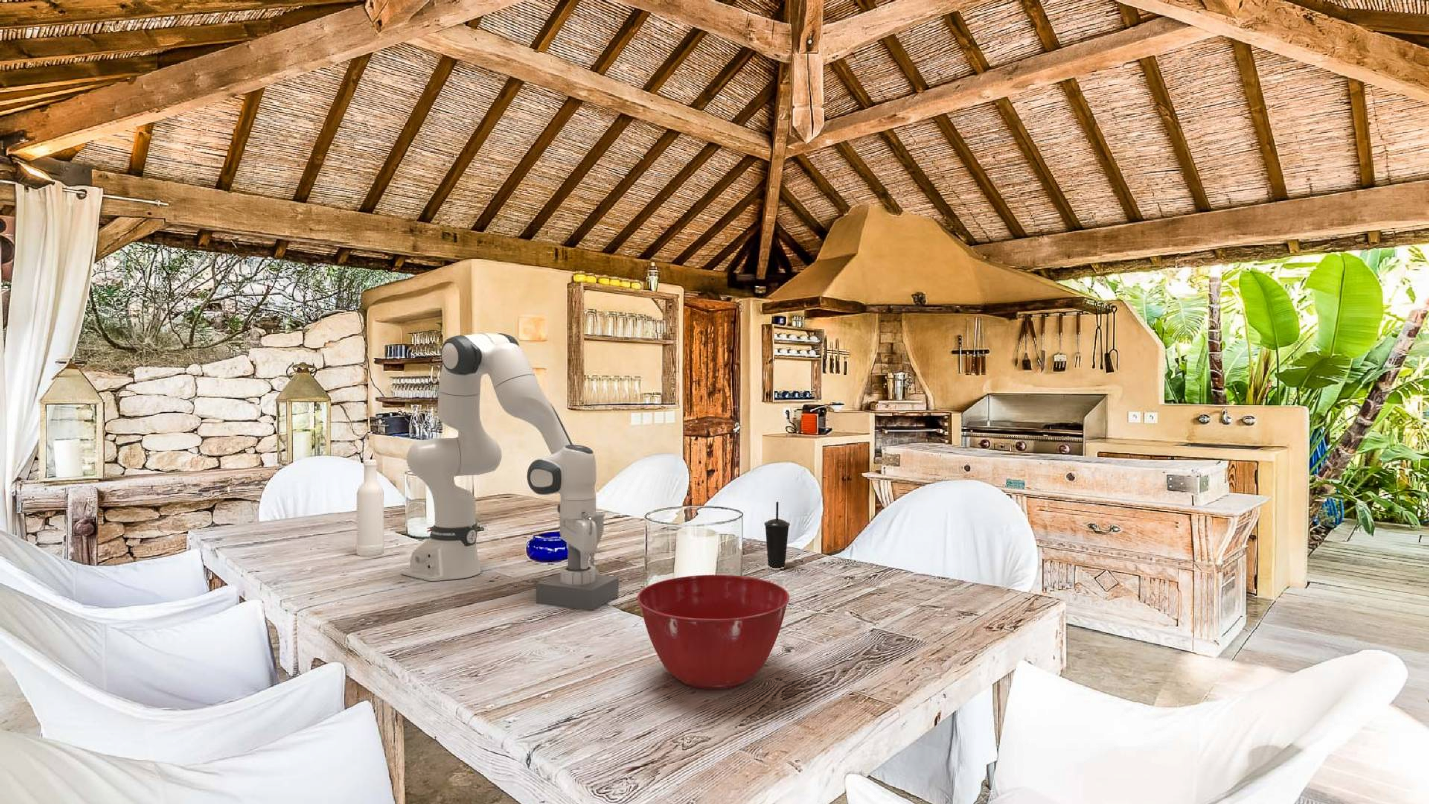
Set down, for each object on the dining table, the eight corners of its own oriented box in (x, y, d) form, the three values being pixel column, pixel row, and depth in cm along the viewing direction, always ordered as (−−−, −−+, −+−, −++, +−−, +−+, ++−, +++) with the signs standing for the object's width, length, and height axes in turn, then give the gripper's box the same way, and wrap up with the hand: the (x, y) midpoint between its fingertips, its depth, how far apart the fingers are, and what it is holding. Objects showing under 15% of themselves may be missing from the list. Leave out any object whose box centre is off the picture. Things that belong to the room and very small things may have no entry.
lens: (563, 581, 180) (563, 549, 180) (573, 576, 185) (573, 545, 185) (582, 583, 179) (582, 551, 179) (591, 578, 184) (591, 546, 184)
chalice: (607, 575, 207) (608, 512, 206) (601, 581, 200) (602, 516, 200) (582, 574, 207) (583, 511, 207) (576, 580, 201) (576, 515, 200)
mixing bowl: (667, 720, 117) (668, 625, 116) (618, 659, 143) (619, 581, 142) (817, 692, 128) (818, 606, 128) (746, 640, 154) (747, 568, 154)
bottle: (350, 555, 227) (350, 460, 226) (366, 550, 235) (366, 458, 234) (373, 557, 226) (373, 461, 225) (389, 551, 234) (389, 459, 233)
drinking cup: (790, 571, 212) (791, 504, 212) (764, 571, 212) (765, 503, 212) (788, 565, 220) (788, 500, 219) (763, 565, 220) (763, 499, 219)
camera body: (536, 603, 179) (536, 571, 179) (565, 589, 191) (565, 559, 191) (591, 611, 173) (592, 577, 173) (618, 596, 185) (618, 565, 185)
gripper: (603, 515, 174) (603, 572, 174) (578, 502, 192) (578, 554, 192) (578, 517, 171) (578, 575, 171) (555, 504, 189) (555, 556, 189)
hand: (578, 564), depth 182 cm, fingers open, 8 cm apart
